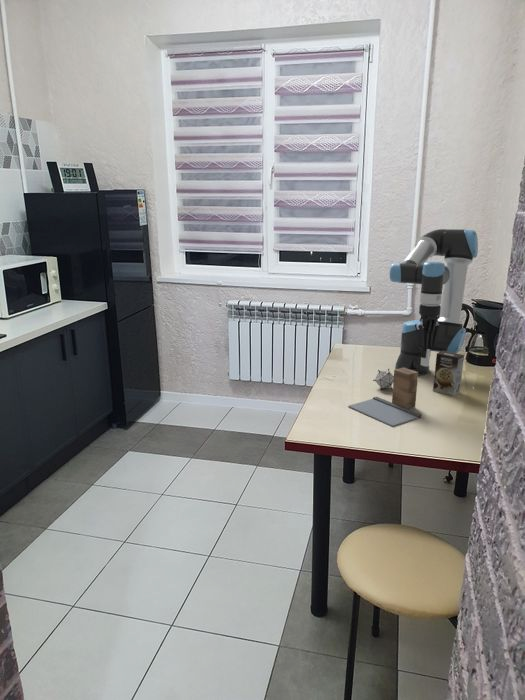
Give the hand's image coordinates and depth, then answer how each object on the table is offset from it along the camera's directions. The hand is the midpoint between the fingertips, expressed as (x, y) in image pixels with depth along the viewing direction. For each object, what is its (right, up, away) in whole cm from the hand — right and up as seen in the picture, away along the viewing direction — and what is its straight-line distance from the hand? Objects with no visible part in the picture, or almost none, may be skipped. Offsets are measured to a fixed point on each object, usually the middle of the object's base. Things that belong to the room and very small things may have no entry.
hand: (424, 365), depth 196 cm
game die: (-11, -10, +18) cm, 23 cm away
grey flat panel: (-17, -17, -7) cm, 25 cm away
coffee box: (+13, -11, +14) cm, 22 cm away
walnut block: (-9, -15, -2) cm, 18 cm away
